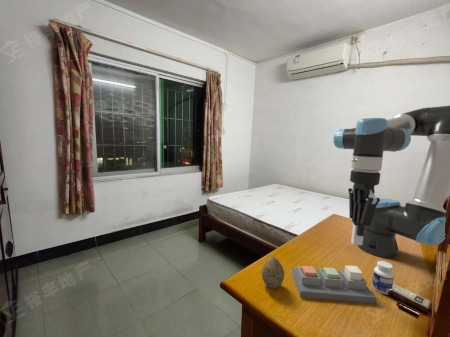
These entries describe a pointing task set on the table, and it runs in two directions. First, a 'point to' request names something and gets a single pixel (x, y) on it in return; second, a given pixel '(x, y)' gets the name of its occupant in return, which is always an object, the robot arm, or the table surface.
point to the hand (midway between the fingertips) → (356, 243)
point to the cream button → (353, 273)
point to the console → (332, 287)
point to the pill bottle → (383, 277)
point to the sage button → (330, 273)
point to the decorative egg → (272, 273)
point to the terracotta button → (308, 271)
